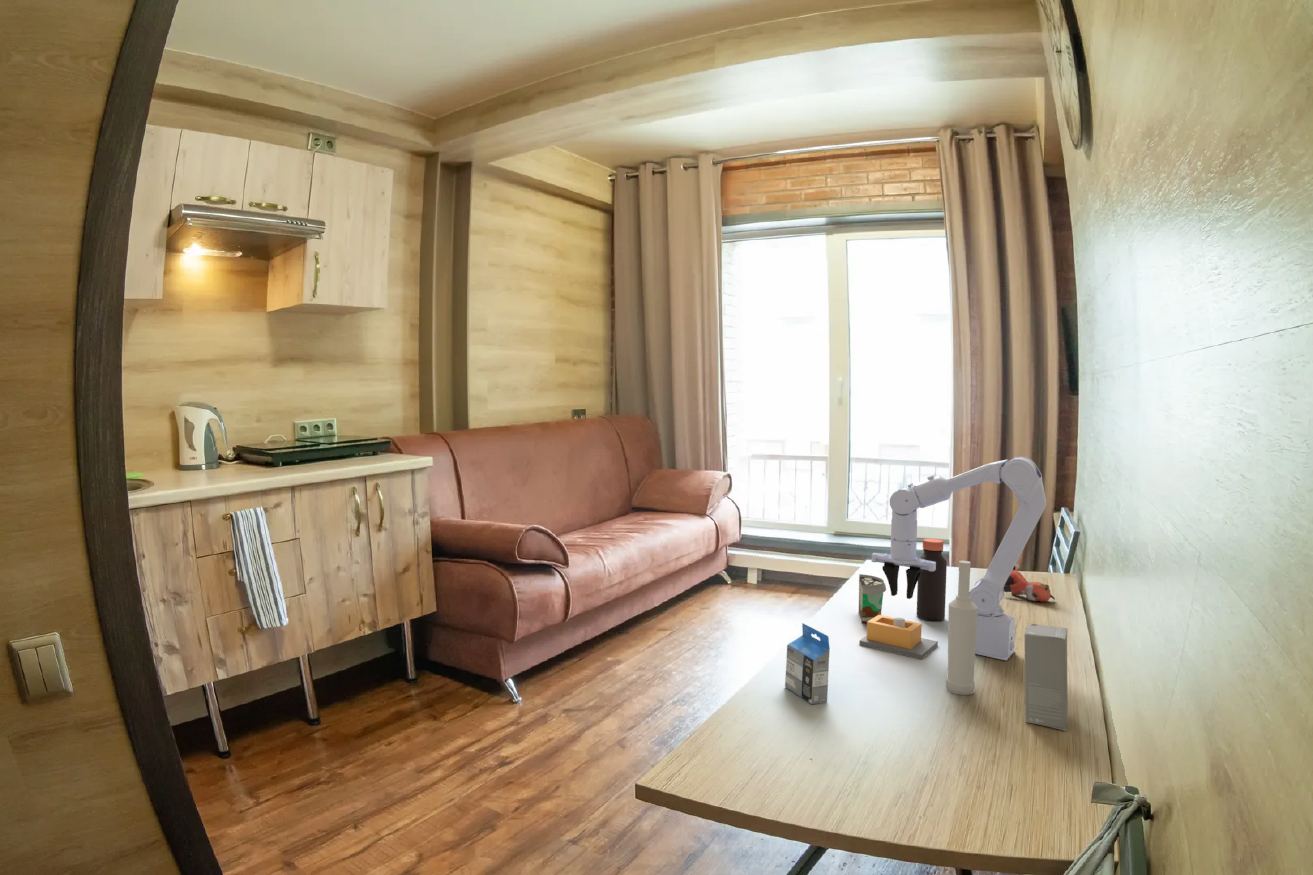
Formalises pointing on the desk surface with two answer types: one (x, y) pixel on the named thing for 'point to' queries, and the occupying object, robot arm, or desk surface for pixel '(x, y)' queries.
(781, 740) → the desk surface
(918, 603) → the vinegar
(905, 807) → the desk surface
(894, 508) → the robot arm
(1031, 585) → the stuffed fox
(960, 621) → the bottle
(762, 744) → the desk surface
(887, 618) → the link
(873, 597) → the food container
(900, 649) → the plate
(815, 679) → the label tape box
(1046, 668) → the skincare box
